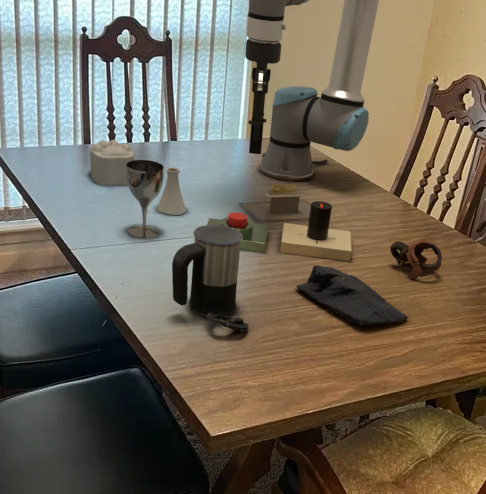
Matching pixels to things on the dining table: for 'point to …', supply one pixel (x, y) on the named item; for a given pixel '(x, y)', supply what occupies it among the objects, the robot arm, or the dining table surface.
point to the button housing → (247, 234)
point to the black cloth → (349, 297)
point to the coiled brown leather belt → (416, 257)
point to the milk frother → (210, 274)
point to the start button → (237, 219)
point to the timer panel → (316, 243)
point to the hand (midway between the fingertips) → (255, 152)
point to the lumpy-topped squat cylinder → (110, 162)
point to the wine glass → (144, 190)
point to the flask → (172, 195)
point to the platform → (282, 202)
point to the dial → (319, 220)
